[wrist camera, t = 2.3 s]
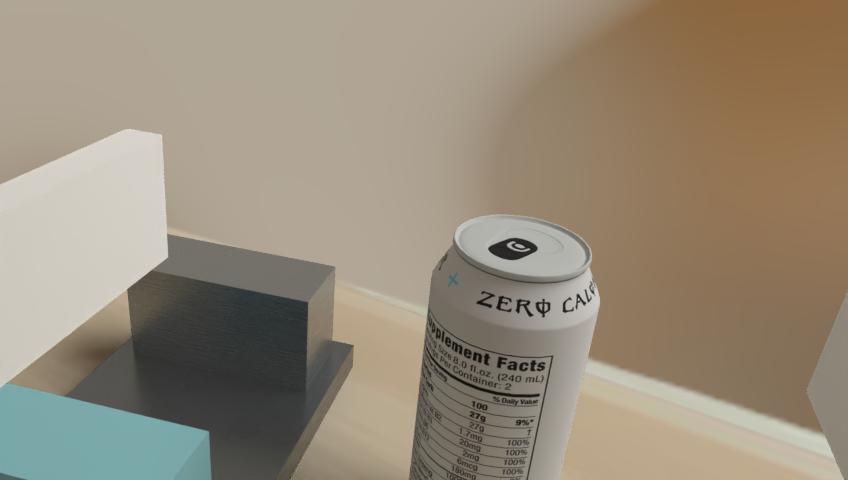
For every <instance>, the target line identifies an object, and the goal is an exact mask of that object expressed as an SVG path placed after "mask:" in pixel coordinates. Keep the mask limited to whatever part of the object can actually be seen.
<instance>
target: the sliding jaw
mask: <svg viewBox="0 0 848 480" xmlns="http://www.w3.org/2000/svg"><path fill="white" fill-rule="evenodd" d="M0 480H211V463H210V442H209V431H205V430H201V429H197V428H193V427H189V426H184V425H180V424H176V423H172V422H168V421H163V420H159V419H155V418H151V417H147V416H143V415H138V414H134V413H130V412H126V411H122V410H118V409H113V408H109V407H105V406H101V405H97V404H93V403H88V402H84V401H80V400H76V399H72V398H68V397H63V396H59V395H55V394H51V393H47V392H43V391H38V390H34V389H30V388H26V387H22V386H18V385H13V384H9V383H6V384H5V385H3V386H2V387H1V388H0Z"/></svg>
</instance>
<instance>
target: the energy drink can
mask: <svg viewBox="0 0 848 480" xmlns="http://www.w3.org/2000/svg"><path fill="white" fill-rule="evenodd" d="M591 259H592V253H591V249H590V247H589V246H588V244H587V243H586V242H585V241H584V240H583V239H582V238H581V237H580V236H578V235H577V234H575V233H573V232H572V231H570V230H568V229H566V228H564V227H562V226H559V225H557V224H554V223H551V222H548V221H544V220H541V219H537V218H532V217H526V216H518V215H503V214H502V215H488V216H480V217H476V218H472V219H470V220H467V221H465V222H463V223H462V224H461V225H459V226H458V227H457V229H456V230H455V232H454V237H453V245H452V246H451V248H450V249H449V250H448V251H447V252H446V254H445V255H444V256H443V257H442V259H441V260H440V261H439V263H438V264H437V266H436V267H435V269H434V270H433V273H432V278H431V287H430V296H429V305H428V314H427V323H426V332H425V341H424V350H423V359H422V368H421V377H420V386H419V395H418V404H417V413H416V422H415V431H414V440H413V449H412V458H411V467H410V476H409V480H559V479H560V475H561V471H562V466H563V462H564V458H565V453H566V449H567V445H568V440H569V436H570V432H571V427H572V423H573V419H574V414H575V410H576V406H577V401H578V397H579V393H580V388H581V384H582V380H583V375H584V371H585V367H586V362H587V358H588V354H589V349H590V345H591V341H592V336H593V332H594V327H595V323H596V319H597V315H598V310H599V305H600V298H599V294H598V290H597V287H596V284H595V281H594V279H593V276H592V273H591V271H590V268H589V266H590V264H591Z"/></svg>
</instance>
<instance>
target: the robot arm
mask: <svg viewBox="0 0 848 480" xmlns="http://www.w3.org/2000/svg"><path fill="white" fill-rule="evenodd" d="M166 258H168V243H167V224H166V206H165V186H164V168H163V148H162V135H160V134H155V133H149V132H144V131H138V130H133V129H125V130H123V131H120V132H118V133H116V134H114V135H112V136H109V137H107V138H105V139H102V140H100V141H98V142H96V143H93V144H92V145H89V146H86V147H85V148H82V149H80V150H77V151H75V152H73V153H71V154H68V155H66V156H64V157H62V158H59V159H57V160H55V161H53V162H50V163H48V164H46V165H43V166H41V167H39V168H37V169H34V170H32V171H30V172H28V173H25V174H23V175H21V176H19V177H16V178H14V179H12V180H9V181H7V182H5V183H3V184H0V388H1V387H2V386H3V385H5V384H6V383H7V382H8V381H10V380H11V379H12V378H14V377H15V376H16V375H17V374H19V373H20V372H21V371H23V370H24V369H25V368H26V367H28V366H29V365H30V364H32V363H33V362H34V361H35V360H37V359H38V358H39V357H41V356H42V355H43V354H44V353H46V352H47V351H48V350H50V349H51V348H52V347H53V346H55V345H56V344H57V343H58V342H60V341H61V340H62V339H64V338H65V337H66V336H67V335H69V334H70V333H71V332H73V331H74V330H75V329H76V328H78V327H79V326H80V325H82V324H83V323H84V322H85V321H87V320H88V319H89V318H91V317H92V316H93V315H94V314H96V313H97V312H98V311H100V310H101V309H102V308H103V307H105V306H106V305H107V304H109V303H110V302H111V301H112V300H114V299H115V298H116V297H118V296H119V295H120V294H121V293H123V292H124V291H125V290H127V289H128V288H129V287H130V286H132V285H133V284H134V283H136V282H137V281H138V280H139V279H141V278H142V277H143V276H145V275H146V274H147V273H148V272H150V271H151V270H152V269H154V268H155V267H156V266H157V265H159V264H160V263H161V262H163V261H164V260H165V259H166ZM806 392H807V394H808V397H809V399H810V401H811V404H812V406H813V408H814V411H815V413H816V415H817V418H818V420H819V422H820V424H821V427H822V429H823V431H824V434H825V436H826V438H827V441H828V443H829V445H830V448H831V450H832V452H833V455H834V457H835V459H836V462H837V464H838V466H839V469H840V471H841V473H842V476H843V478H844V480H848V291H847V294H846V296H845V299H844V301H843V304H842V306H841V308H840V311H839V313H838V316H837V318H836V321H835V323H834V326H833V328H832V330H831V333H830V335H829V338H828V340H827V342H826V345H825V347H824V350H823V352H822V355H821V357H820V360H819V362H818V364H817V367H816V369H815V372H814V374H813V376H812V379H811V381H810V384H809V386H808V389H807V391H806Z"/></svg>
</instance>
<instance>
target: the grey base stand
mask: <svg viewBox="0 0 848 480" xmlns="http://www.w3.org/2000/svg"><path fill="white" fill-rule="evenodd" d="M167 243H168V258H166V259H165V260H164V261H163V262H161V263H160V264H159V265H157V266H156V267H155V268H154V269H152V270H151V271H150V272H148V273H147V274H146V275H145V276H143V277H142V278H141V279H139V280H138V281H137V282H136V283H134V284H133V285H132V286H130V287H129V288H128V289H127V291H128V301H129V311H130V321H131V331H132V337H131V338H130V339H129V340H128V341H127V342H126V343H124V344H123V345H122V346H121V347H120V348H119V349H118V350H117V351H115V352H114V353H113V354H112V355H111V356H110V357H109V358H108V359H107V360H105V361H104V362H103V363H102V364H101V365H100V366H99V367H98V368H97V369H95V370H94V371H93V372H92V373H91V374H90V375H89V376H88V377H86V378H85V379H84V380H83V381H82V382H81V383H80V384H79V385H78V386H76V387H75V388H74V389H73V390H72V391H71V392H70V393H69V394H68V395H66V396H65V397H68V398H72V399H76V400H80V401H84V402H88V403H93V404H97V405H101V406H105V407H109V408H113V409H118V410H122V411H126V412H130V413H134V414H138V415H143V416H147V417H151V418H155V419H159V420H163V421H168V422H172V423H176V424H180V425H184V426H189V427H193V428H197V429H201V430H205V431H209V442H210V463H211V480H289V479H290V478H291V476H292V474H293V472H294V470H295V469H296V467H297V465H298V463H299V461H300V460H301V458H302V456H303V454H304V452H305V451H306V449H307V447H308V445H309V444H310V442H311V440H312V438H313V436H314V435H315V433H316V431H317V429H318V427H319V426H320V424H321V422H322V420H323V418H324V417H325V415H326V413H327V411H328V409H329V408H330V406H331V404H332V402H333V400H334V399H335V397H336V395H337V393H338V391H339V390H340V388H341V386H342V384H343V382H344V381H345V379H346V377H347V375H348V373H349V372H350V370H351V368H352V365H353V348H354V345H350V344H345V343H340V342H336V341H332V332H333V309H334V286H335V267H334V266H328V265H324V264H319V263H314V262H308V261H303V260H298V259H292V258H288V257H282V256H277V255H272V254H267V253H262V252H257V251H251V250H246V249H241V248H236V247H231V246H226V245H220V244H215V243H210V242H205V241H200V240H194V239H189V238H184V237H179V236H174V235H169V234H167Z"/></svg>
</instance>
